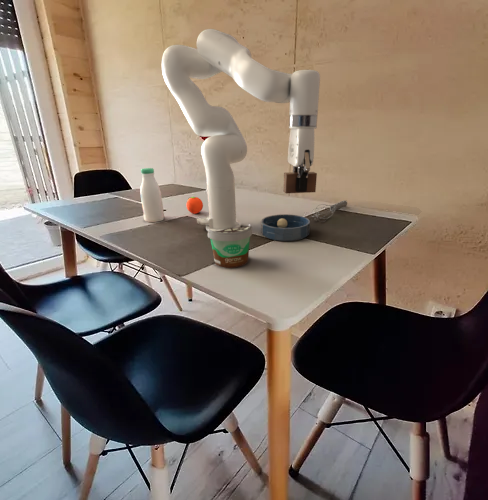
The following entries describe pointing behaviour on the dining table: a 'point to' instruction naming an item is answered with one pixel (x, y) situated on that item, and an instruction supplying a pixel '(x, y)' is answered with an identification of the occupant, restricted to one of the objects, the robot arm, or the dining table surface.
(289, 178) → the brown wooden block
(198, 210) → the clementine
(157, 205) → the milk bottle
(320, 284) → the dining table surface
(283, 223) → the dough ball
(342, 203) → the kitchen whisk
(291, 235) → the bowl
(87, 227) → the dining table surface
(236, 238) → the food container
